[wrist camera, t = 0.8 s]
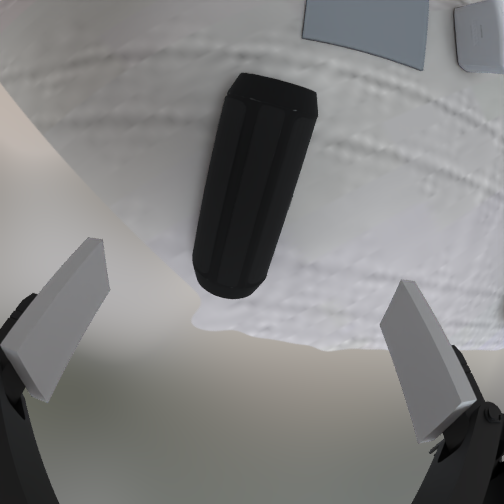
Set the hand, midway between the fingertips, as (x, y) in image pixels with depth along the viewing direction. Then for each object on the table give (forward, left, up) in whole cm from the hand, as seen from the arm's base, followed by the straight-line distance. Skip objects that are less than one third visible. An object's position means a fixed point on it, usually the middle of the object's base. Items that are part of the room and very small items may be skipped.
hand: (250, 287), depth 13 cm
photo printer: (-23, +26, -28) cm, 45 cm away
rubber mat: (-23, +11, -28) cm, 38 cm away
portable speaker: (+4, -1, -28) cm, 29 cm away
